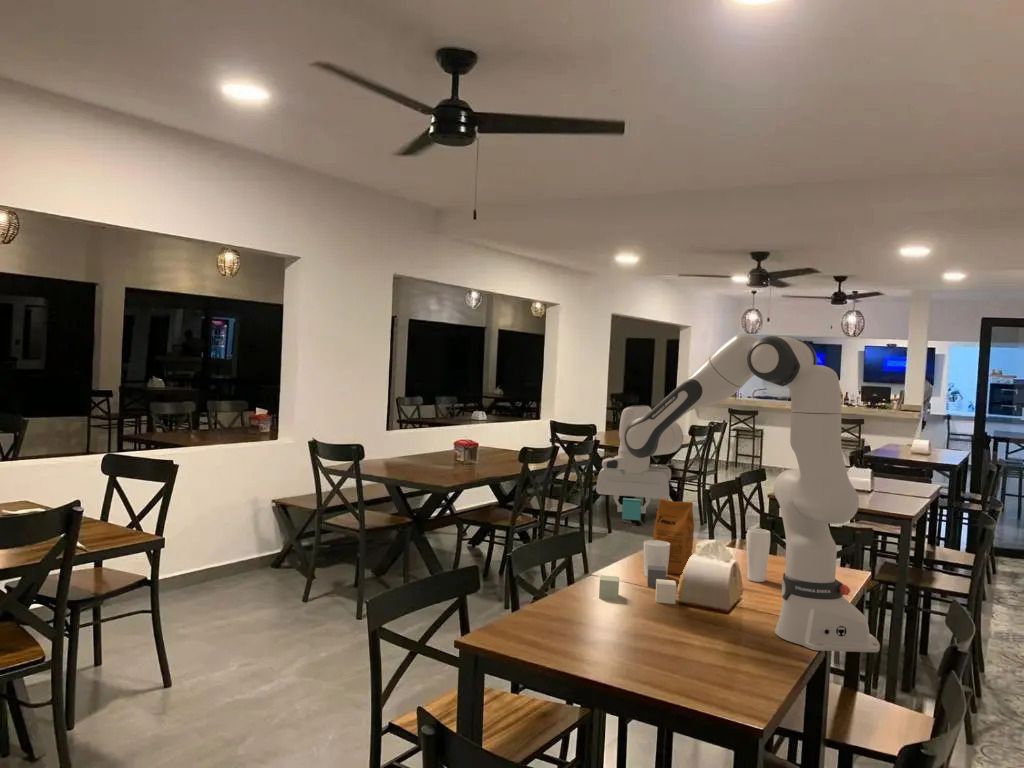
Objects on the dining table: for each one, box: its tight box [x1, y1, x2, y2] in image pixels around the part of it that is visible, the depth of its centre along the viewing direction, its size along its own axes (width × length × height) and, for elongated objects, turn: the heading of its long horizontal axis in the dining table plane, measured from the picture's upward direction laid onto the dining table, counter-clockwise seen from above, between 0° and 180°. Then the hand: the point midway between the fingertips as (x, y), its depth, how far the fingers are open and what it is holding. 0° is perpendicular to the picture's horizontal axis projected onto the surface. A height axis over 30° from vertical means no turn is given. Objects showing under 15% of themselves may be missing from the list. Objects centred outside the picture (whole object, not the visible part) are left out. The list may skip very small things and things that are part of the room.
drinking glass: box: [746, 527, 771, 583], centre depth 229 cm, size 7×7×15 cm
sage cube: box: [598, 574, 620, 601], centre depth 205 cm, size 5×5×5 cm
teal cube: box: [621, 497, 642, 521], centre depth 213 cm, size 5×5×5 cm
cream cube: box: [655, 579, 677, 605], centre depth 204 cm, size 5×5×5 cm
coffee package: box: [652, 498, 695, 576], centre depth 237 cm, size 10×12×22 cm
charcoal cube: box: [646, 565, 667, 588], centre depth 219 cm, size 5×5×5 cm
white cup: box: [643, 539, 670, 578], centre depth 229 cm, size 8×8×10 cm
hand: (631, 512), depth 213 cm, fingers closed on teal cube, 5 cm apart
